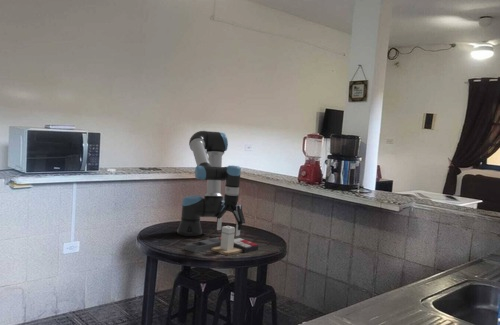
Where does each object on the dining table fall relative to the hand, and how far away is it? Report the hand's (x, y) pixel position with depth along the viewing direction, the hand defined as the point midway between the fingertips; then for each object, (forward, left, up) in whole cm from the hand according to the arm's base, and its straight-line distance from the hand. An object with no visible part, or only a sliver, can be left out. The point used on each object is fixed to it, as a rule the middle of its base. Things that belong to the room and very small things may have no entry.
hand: (228, 232), depth 224 cm
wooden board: (0, 0, -10) cm, 10 cm away
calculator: (+2, +12, -11) cm, 16 cm away
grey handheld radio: (-11, -1, -10) cm, 15 cm away
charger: (0, 0, -9) cm, 9 cm away
